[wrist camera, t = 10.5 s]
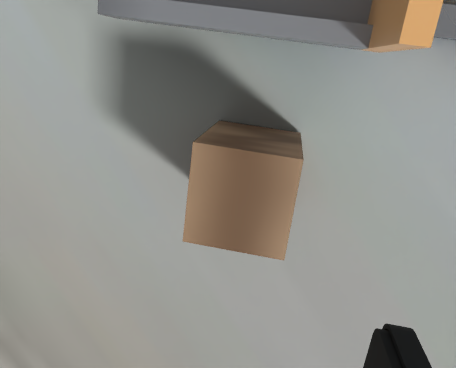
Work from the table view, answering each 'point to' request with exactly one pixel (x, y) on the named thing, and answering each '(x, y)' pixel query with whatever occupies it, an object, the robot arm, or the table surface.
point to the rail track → (446, 22)
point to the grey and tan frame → (296, 19)
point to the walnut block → (243, 188)
